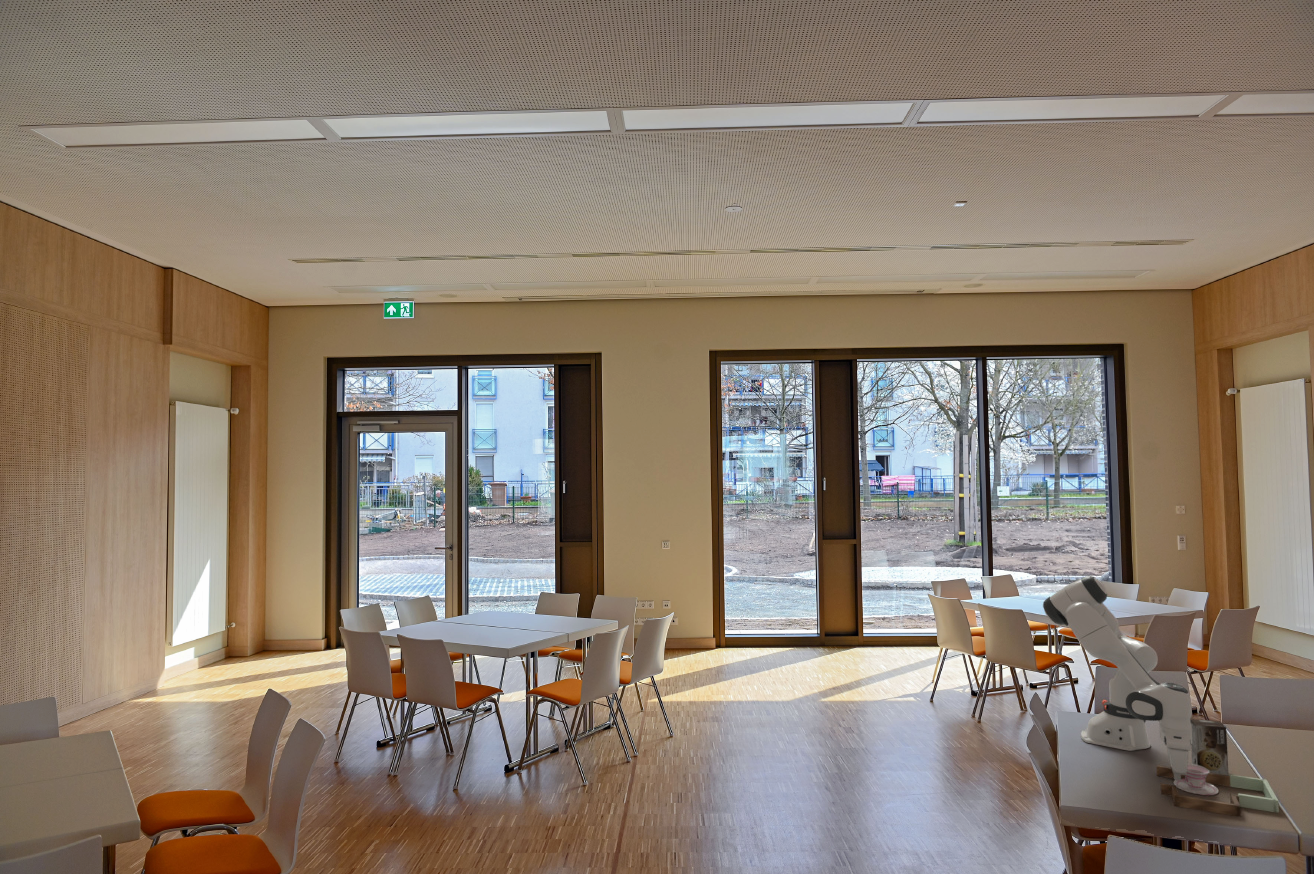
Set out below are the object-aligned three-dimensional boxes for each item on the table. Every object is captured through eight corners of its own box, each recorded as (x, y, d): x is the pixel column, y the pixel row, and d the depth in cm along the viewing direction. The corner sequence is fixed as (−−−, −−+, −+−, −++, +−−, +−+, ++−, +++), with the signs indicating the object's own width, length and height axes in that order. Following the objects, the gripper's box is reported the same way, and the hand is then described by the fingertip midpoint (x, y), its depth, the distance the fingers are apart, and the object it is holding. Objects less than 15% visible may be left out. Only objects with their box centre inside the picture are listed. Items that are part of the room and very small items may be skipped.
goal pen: (1239, 806, 240) (1238, 794, 241) (1229, 785, 256) (1229, 774, 256) (1278, 812, 236) (1278, 800, 236) (1266, 790, 251) (1266, 779, 251)
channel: (1163, 803, 243) (1163, 794, 243) (1156, 774, 265) (1156, 765, 265) (1244, 817, 233) (1243, 806, 234) (1229, 785, 256) (1229, 775, 256)
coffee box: (1222, 768, 269) (1220, 720, 270) (1229, 775, 263) (1227, 726, 264) (1191, 765, 272) (1189, 718, 273) (1197, 772, 266) (1195, 724, 267)
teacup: (1165, 780, 260) (1164, 761, 260) (1202, 780, 260) (1201, 761, 260) (1189, 796, 248) (1188, 776, 248) (1228, 795, 248) (1227, 775, 248)
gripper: (1161, 724, 266) (1162, 765, 266) (1167, 743, 248) (1168, 788, 248) (1184, 726, 263) (1185, 769, 263) (1191, 747, 245) (1192, 792, 245)
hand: (1177, 778), depth 255 cm, fingers closed
